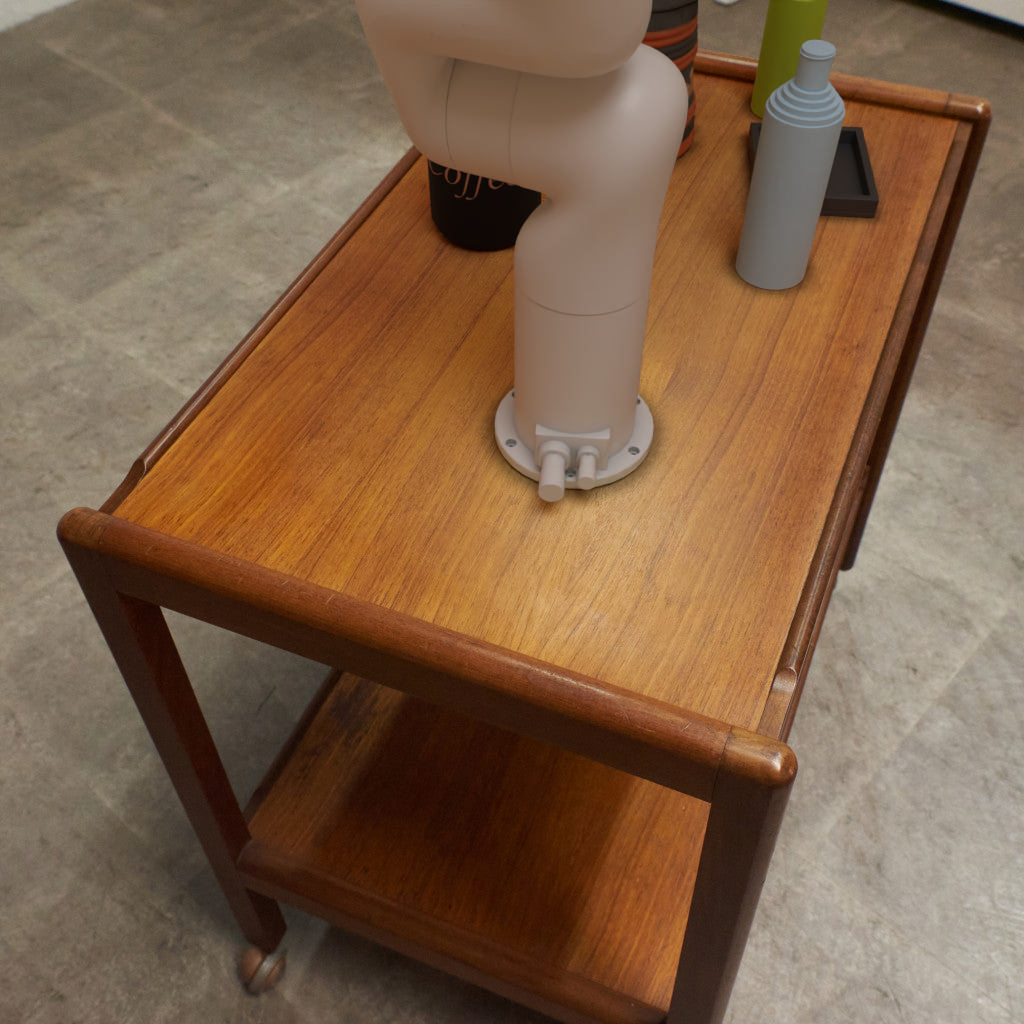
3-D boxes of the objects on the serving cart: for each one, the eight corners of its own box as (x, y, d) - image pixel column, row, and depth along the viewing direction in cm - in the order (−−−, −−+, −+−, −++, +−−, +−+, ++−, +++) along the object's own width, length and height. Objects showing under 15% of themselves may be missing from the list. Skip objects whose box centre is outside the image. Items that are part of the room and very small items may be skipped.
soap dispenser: (812, 97, 119) (855, -96, 104) (796, 127, 115) (838, -70, 100) (761, 87, 121) (796, -105, 106) (744, 115, 117) (777, -80, 102)
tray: (874, 218, 104) (879, 200, 103) (754, 212, 105) (758, 194, 103) (857, 144, 113) (862, 127, 112) (747, 139, 114) (750, 122, 112)
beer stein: (498, 148, 113) (495, -51, 98) (546, 84, 122) (551, -107, 106) (671, 185, 108) (696, -18, 93) (708, 115, 117) (737, -80, 102)
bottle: (807, 292, 97) (865, 68, 81) (736, 288, 97) (780, 65, 81) (801, 250, 101) (855, 29, 85) (733, 246, 101) (774, 26, 85)
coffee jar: (412, 239, 102) (396, 56, 88) (462, 182, 108) (454, 3, 95) (512, 267, 99) (512, 82, 86) (558, 207, 105) (564, 27, 92)
